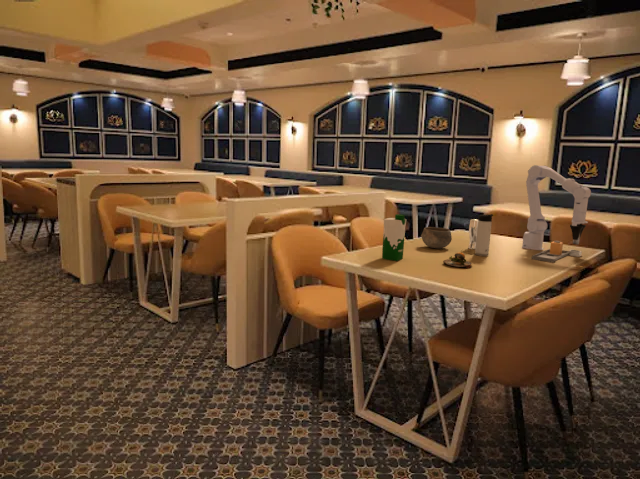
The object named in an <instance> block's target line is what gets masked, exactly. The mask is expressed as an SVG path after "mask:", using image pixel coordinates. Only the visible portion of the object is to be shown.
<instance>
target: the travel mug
mask: <svg viewBox="0 0 640 479" xmlns="http://www.w3.org/2000/svg"><path fill="white" fill-rule="evenodd" d="M493 217H494V214H493V213H491V214H479V215H478V226H477V237H476V247H475V250H474V255H475V256H480V257H488V256H489V252H490V242H491V231H492V221H493V220H492V219H493Z"/></svg>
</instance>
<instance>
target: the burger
mask: <svg viewBox="0 0 640 479" xmlns="http://www.w3.org/2000/svg"><path fill="white" fill-rule="evenodd" d="M442 262H443V264H446V265H448V266H452V267H458V268H459V267H460V268H463V267H465V268H466V270H467V269H470V268H473V266H472V262H470V261H467V258H466V255H465V254H464V253H463V250H461V251H459V252H455V253H454V256H452V255H450V256H449V258H448V259H444V260H443V261H442Z"/></svg>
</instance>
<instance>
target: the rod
mask: <svg viewBox="0 0 640 479" xmlns="http://www.w3.org/2000/svg"><path fill="white" fill-rule="evenodd" d="M579 238H580V239H581V237H580V235H579ZM579 238H578V240H574V239H573V238H572V245H579V244H580V239H579Z"/></svg>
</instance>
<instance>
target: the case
mask: <svg viewBox="0 0 640 479" xmlns="http://www.w3.org/2000/svg"><path fill="white" fill-rule="evenodd" d="M539 253H541V255H542V254H547V256H562V257H561V259H563V258H566V257H567V256H569V255H568V253H569V250H564V249H562V255H555V254H550V248H547V249H546V250H545V249H544V250H543V251H542V250H541V251H540V252H539Z"/></svg>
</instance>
